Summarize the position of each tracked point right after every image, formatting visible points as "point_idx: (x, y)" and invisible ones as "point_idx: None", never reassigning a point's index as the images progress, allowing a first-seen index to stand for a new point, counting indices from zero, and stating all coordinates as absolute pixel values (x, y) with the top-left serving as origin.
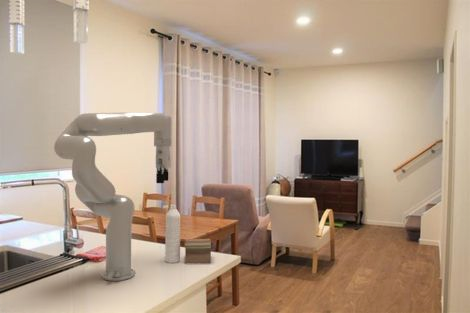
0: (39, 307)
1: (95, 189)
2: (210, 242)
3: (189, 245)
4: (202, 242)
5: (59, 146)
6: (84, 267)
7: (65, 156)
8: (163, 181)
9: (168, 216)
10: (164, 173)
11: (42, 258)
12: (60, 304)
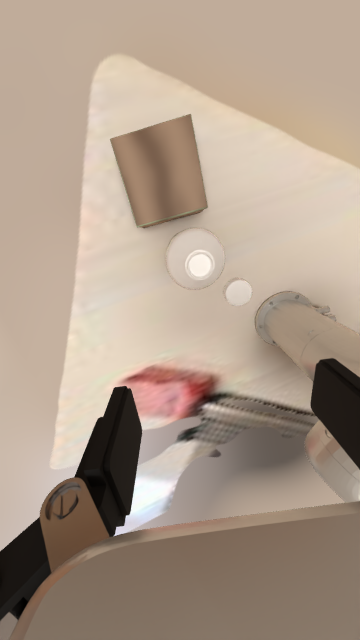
0: None
1: None
2: (156, 124)
3: (204, 193)
4: (162, 157)
5: None
6: (245, 383)
7: None
8: (342, 366)
9: (221, 271)
10: (123, 476)
11: (212, 449)
12: None
